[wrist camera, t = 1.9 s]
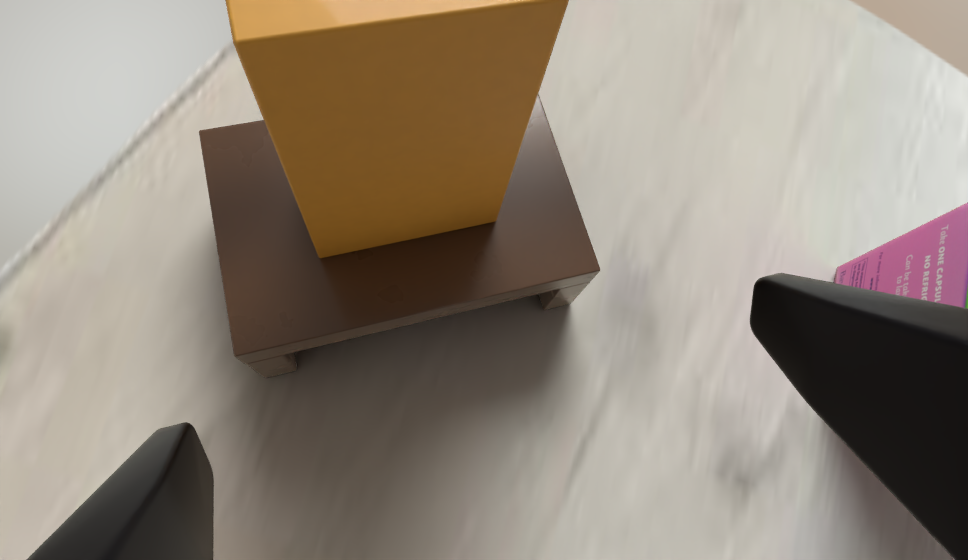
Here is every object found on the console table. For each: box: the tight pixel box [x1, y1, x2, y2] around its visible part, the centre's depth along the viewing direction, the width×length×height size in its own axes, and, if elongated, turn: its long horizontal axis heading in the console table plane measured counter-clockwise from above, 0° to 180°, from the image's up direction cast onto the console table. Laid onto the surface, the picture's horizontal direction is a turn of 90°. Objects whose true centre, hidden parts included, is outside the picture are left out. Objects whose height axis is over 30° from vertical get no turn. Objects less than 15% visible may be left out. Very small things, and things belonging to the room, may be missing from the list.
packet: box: [226, 0, 569, 258], centre depth 16 cm, size 3×6×10 cm, turn 106°
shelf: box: [199, 95, 600, 378], centre depth 22 cm, size 8×12×4 cm, turn 106°
